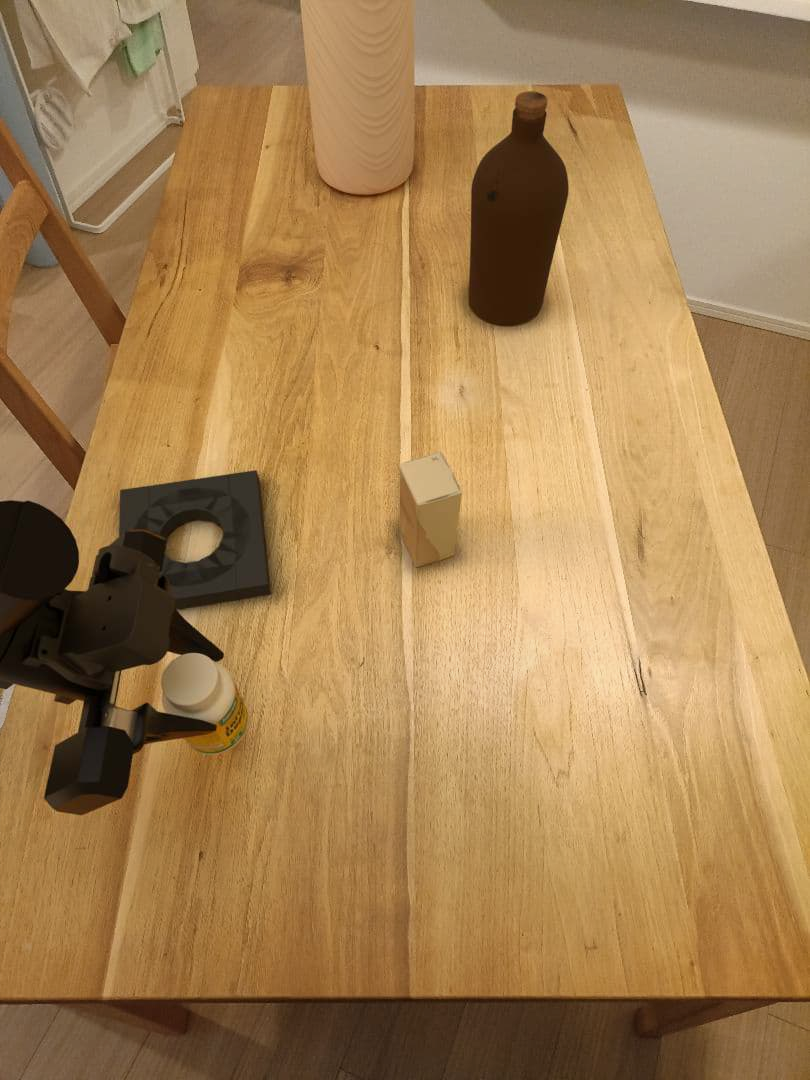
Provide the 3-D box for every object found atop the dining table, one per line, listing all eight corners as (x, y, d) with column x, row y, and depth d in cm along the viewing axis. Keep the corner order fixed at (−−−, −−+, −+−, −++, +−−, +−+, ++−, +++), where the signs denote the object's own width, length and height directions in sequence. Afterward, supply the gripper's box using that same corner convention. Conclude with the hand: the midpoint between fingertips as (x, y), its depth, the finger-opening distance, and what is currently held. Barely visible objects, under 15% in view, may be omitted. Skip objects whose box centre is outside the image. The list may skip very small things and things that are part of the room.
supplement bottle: (191, 691, 64) (160, 640, 56) (254, 695, 64) (234, 644, 56) (176, 754, 61) (142, 711, 53) (243, 759, 61) (219, 716, 53)
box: (398, 529, 78) (396, 460, 69) (437, 517, 79) (441, 447, 70) (416, 570, 76) (417, 505, 66) (457, 557, 76) (463, 490, 67)
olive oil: (541, 336, 94) (579, 133, 73) (456, 323, 95) (469, 120, 74) (551, 280, 99) (590, 77, 79) (471, 269, 101) (487, 67, 80)
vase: (413, 199, 109) (414, -69, 83) (312, 198, 109) (282, -70, 83) (415, 144, 117) (416, -118, 91) (321, 143, 117) (296, -119, 91)
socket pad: (123, 618, 73) (117, 608, 71) (125, 501, 80) (119, 489, 79) (271, 594, 74) (267, 584, 73) (259, 481, 82) (256, 469, 80)
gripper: (21, 747, 38) (277, 798, 47) (92, 452, 48) (291, 543, 57) (-61, 796, 44) (179, 832, 53) (17, 526, 54) (207, 597, 64)
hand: (217, 693), depth 57 cm, fingers closed on supplement bottle, 5 cm apart
